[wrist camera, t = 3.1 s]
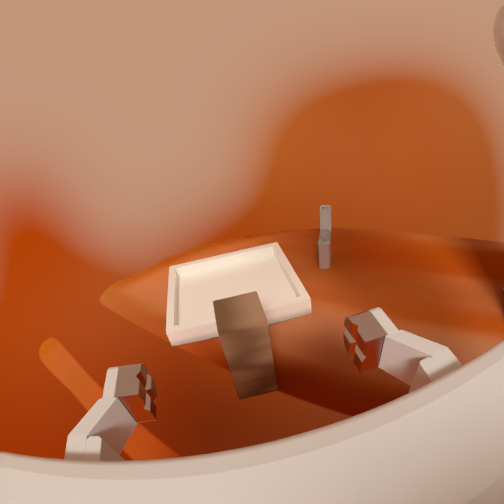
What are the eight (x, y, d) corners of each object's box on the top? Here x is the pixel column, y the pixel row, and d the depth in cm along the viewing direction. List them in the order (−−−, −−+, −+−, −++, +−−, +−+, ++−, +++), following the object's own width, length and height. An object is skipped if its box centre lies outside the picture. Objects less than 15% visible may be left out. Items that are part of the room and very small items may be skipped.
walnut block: (269, 362, 33) (256, 290, 28) (278, 390, 29) (266, 319, 24) (233, 371, 32) (212, 301, 27) (239, 399, 29) (217, 330, 24)
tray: (278, 254, 52) (276, 241, 51) (311, 313, 38) (310, 298, 37) (173, 278, 51) (169, 266, 49) (172, 346, 37) (166, 332, 36)
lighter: (330, 268, 46) (328, 220, 43) (318, 268, 47) (316, 220, 43) (332, 245, 52) (331, 202, 48) (322, 245, 53) (320, 202, 49)
